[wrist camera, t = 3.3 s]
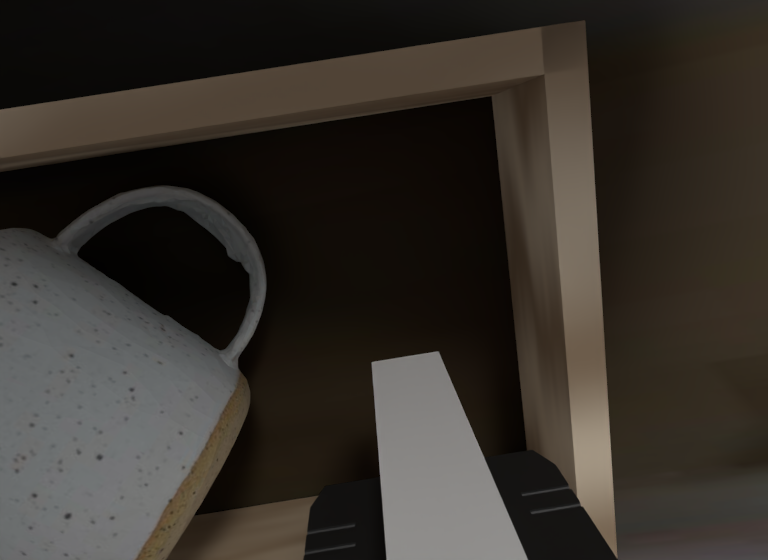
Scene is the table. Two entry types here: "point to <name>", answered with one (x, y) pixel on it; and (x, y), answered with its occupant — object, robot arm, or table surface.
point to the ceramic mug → (110, 394)
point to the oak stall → (520, 209)
